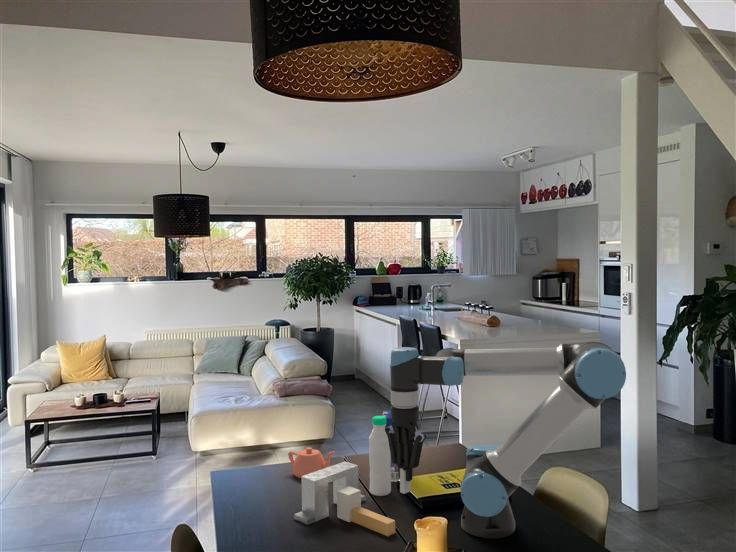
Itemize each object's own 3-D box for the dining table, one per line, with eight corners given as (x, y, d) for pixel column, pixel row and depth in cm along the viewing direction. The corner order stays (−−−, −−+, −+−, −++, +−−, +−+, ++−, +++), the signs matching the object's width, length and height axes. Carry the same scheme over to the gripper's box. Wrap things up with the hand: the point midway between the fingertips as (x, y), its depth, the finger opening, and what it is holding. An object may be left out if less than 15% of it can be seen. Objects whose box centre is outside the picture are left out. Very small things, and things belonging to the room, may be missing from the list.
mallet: (397, 531, 169) (397, 503, 169) (385, 537, 165) (385, 508, 165) (348, 511, 183) (347, 485, 183) (335, 516, 179) (335, 490, 179)
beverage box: (403, 470, 217) (402, 410, 217) (402, 482, 206) (401, 418, 206) (384, 470, 218) (383, 410, 217) (382, 481, 207) (381, 418, 206)
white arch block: (365, 500, 191) (364, 463, 191) (307, 525, 174) (306, 484, 173) (352, 495, 195) (351, 458, 195) (294, 519, 178) (293, 479, 178)
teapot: (295, 466, 224) (294, 441, 224) (340, 470, 219) (340, 444, 218) (281, 478, 212) (280, 451, 212) (329, 482, 207) (328, 455, 207)
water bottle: (389, 497, 193) (388, 420, 193) (367, 496, 195) (366, 419, 194) (392, 489, 200) (391, 414, 199) (371, 487, 201) (370, 413, 201)
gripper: (432, 406, 160) (433, 494, 161) (395, 399, 169) (396, 481, 170) (414, 411, 155) (415, 502, 156) (377, 403, 164) (378, 489, 165)
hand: (405, 491), depth 163 cm, fingers closed
